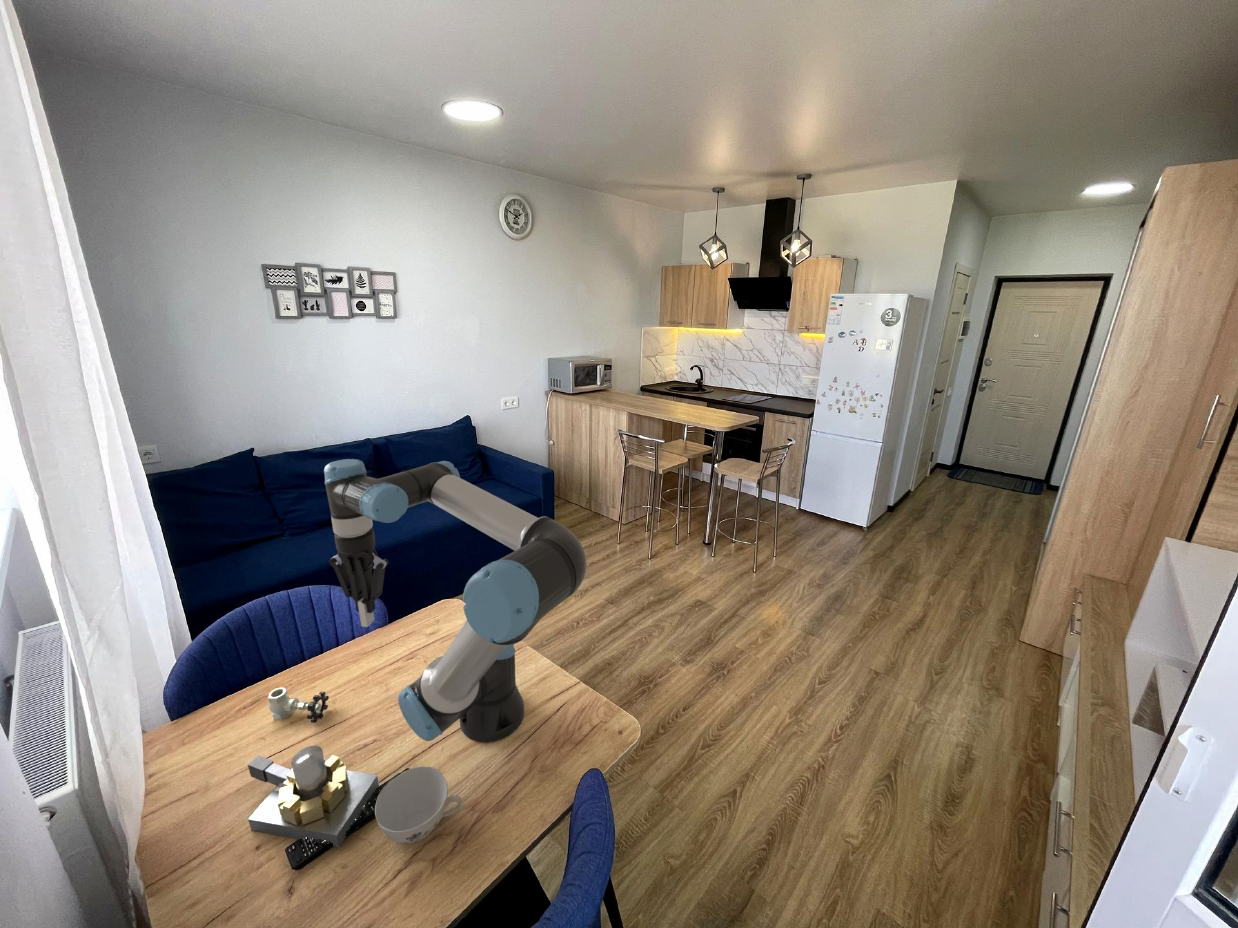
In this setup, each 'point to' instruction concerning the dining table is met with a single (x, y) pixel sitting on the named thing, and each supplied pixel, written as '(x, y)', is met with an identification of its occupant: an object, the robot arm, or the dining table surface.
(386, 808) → the teacup
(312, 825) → the plate
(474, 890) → the dining table surface
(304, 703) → the valve
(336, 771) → the grey bar gold ring
